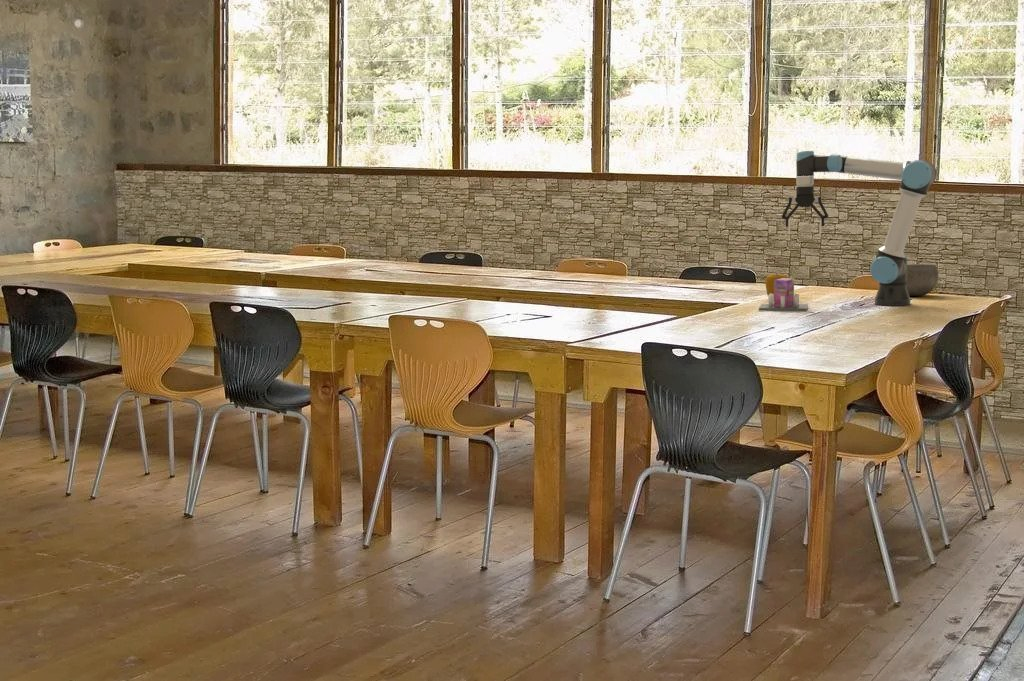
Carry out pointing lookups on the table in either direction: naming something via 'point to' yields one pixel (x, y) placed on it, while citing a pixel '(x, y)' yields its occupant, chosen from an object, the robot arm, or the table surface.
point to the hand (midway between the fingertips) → (804, 234)
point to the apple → (772, 282)
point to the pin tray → (791, 308)
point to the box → (784, 291)
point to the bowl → (921, 279)
